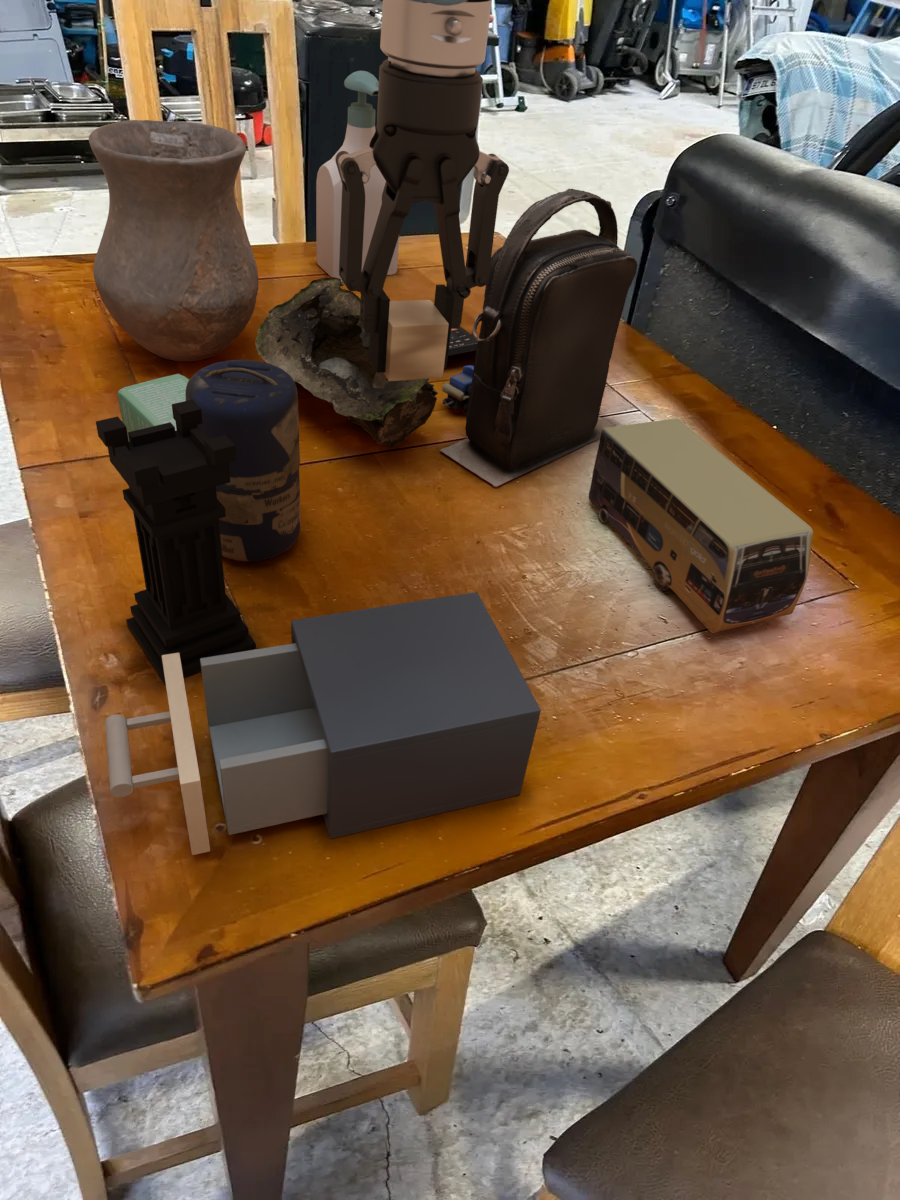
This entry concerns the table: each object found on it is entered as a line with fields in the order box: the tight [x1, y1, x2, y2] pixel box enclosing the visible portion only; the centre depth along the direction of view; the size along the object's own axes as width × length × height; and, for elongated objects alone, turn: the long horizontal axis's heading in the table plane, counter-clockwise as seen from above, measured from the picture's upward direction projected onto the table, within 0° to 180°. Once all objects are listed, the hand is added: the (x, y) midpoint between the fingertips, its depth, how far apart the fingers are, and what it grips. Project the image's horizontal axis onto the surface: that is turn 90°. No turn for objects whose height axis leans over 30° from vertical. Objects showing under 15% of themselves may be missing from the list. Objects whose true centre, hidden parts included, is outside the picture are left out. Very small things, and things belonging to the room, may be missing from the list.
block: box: [384, 299, 449, 381], centre depth 77 cm, size 5×5×5 cm
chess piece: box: [95, 400, 257, 686], centre depth 69 cm, size 8×8×20 cm
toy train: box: [441, 364, 474, 415], centre depth 113 cm, size 4×22×5 cm, turn 136°
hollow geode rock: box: [255, 276, 439, 448], centre depth 103 cm, size 28×13×15 cm
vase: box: [88, 119, 259, 362], centre depth 106 cm, size 20×19×25 cm
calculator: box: [448, 325, 478, 357], centre depth 121 cm, size 9×12×3 cm
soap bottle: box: [315, 70, 400, 280], centre depth 130 cm, size 11×8×27 cm
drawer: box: [104, 643, 328, 856], centre depth 62 cm, size 18×11×8 cm, turn 109°
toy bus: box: [588, 418, 814, 634], centre depth 87 cm, size 10×23×10 cm, turn 22°
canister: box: [185, 359, 302, 562], centre depth 80 cm, size 10×10×18 cm
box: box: [117, 373, 190, 440], centre depth 92 cm, size 7×14×8 cm, turn 40°
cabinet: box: [290, 591, 542, 840], centre depth 65 cm, size 15×13×10 cm
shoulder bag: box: [439, 188, 638, 488], centre depth 96 cm, size 23×9×28 cm, turn 134°
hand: (407, 362), depth 79 cm, fingers closed on block, 5 cm apart
